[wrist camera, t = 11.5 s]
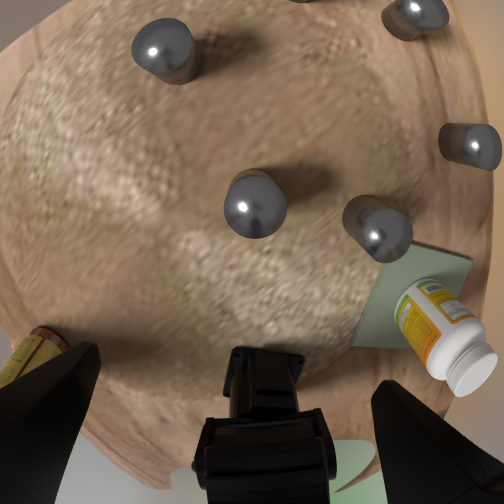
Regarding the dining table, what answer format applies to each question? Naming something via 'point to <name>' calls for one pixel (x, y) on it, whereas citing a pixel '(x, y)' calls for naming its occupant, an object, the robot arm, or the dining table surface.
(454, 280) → the mat
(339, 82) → the dining table surface
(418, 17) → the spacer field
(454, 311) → the supplement bottle
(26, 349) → the sauce bottle
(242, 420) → the robot arm
